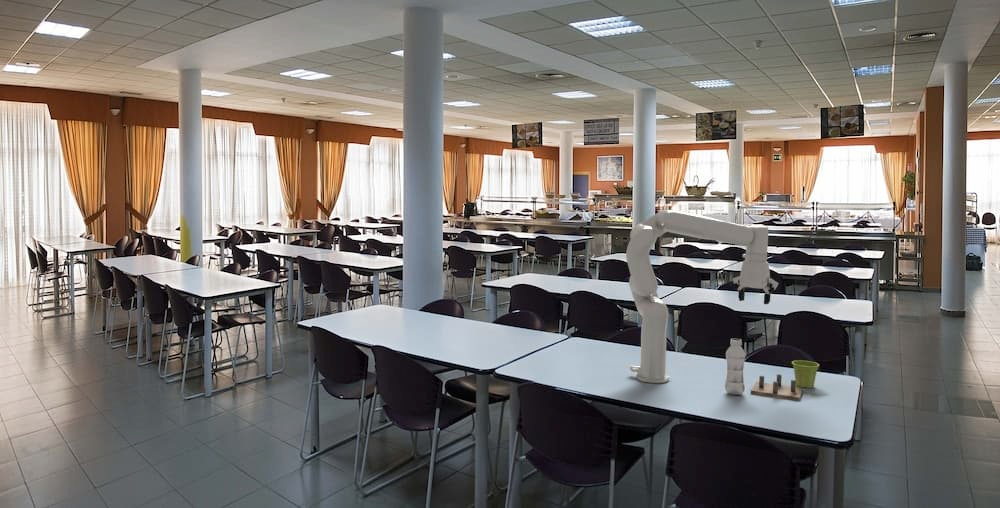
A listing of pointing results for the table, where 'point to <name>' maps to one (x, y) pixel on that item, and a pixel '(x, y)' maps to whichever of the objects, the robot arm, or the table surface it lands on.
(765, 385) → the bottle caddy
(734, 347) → the plastic bottle
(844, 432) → the table surface
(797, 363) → the plant pot
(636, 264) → the robot arm
